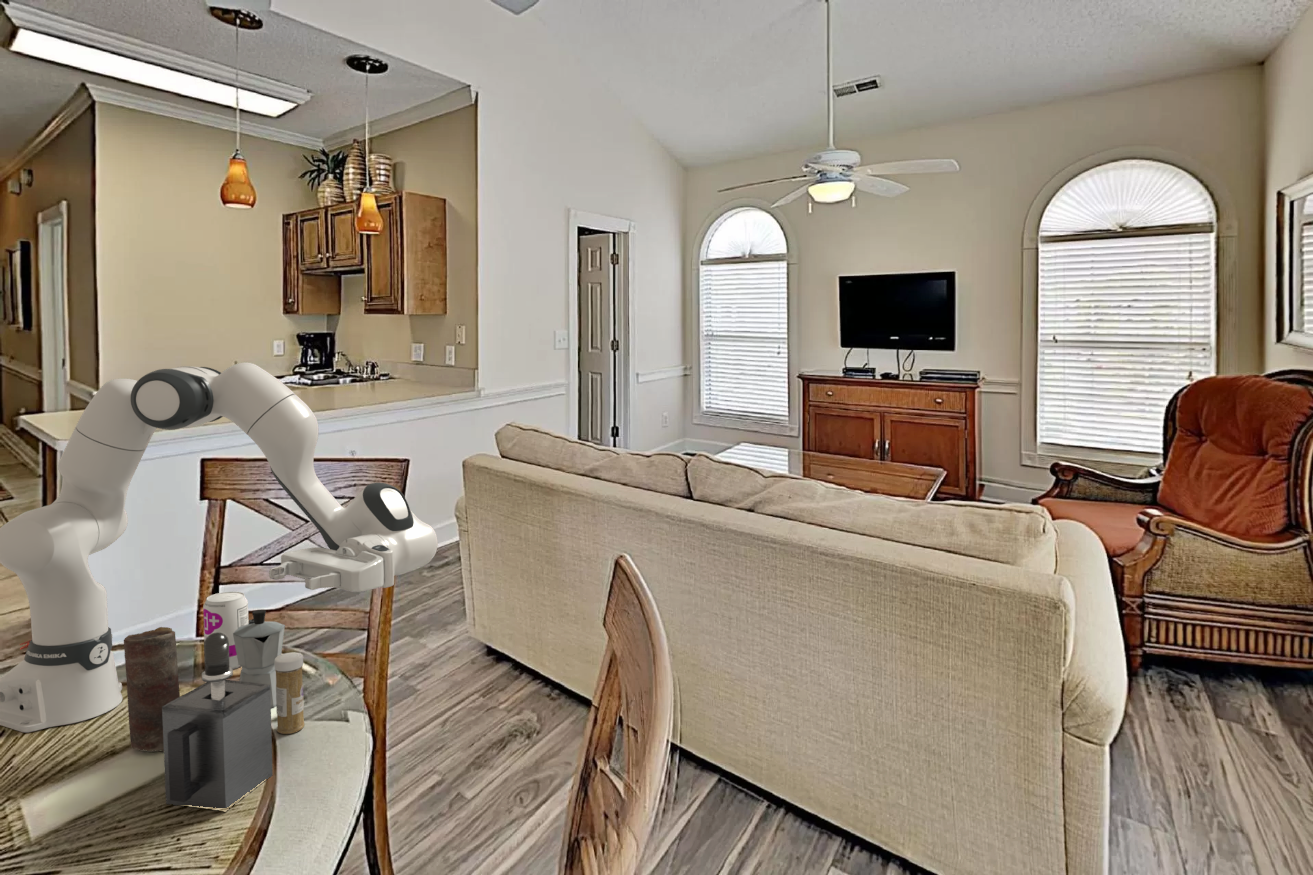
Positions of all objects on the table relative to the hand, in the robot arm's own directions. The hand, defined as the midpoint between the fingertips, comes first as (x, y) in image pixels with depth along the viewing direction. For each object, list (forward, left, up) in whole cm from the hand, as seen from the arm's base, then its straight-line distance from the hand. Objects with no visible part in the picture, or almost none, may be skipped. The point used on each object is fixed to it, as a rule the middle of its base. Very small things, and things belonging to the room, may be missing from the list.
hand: (289, 579), depth 121 cm
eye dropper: (-4, -11, -27) cm, 30 cm away
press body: (-4, -13, -30) cm, 33 cm away
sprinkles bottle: (-6, +8, -30) cm, 32 cm away
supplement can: (-37, +30, -30) cm, 56 cm away
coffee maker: (-19, +17, -30) cm, 40 cm away
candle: (-24, -2, -30) cm, 39 cm away
